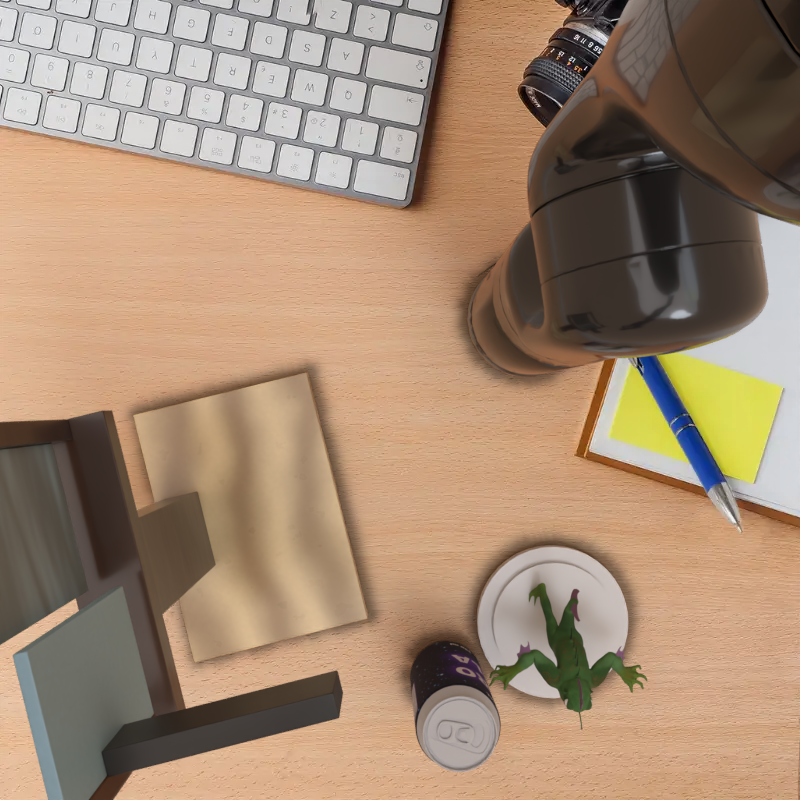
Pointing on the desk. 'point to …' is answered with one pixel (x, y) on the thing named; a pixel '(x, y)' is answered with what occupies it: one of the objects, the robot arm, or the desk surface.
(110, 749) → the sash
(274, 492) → the light brown wooden board
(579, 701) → the monster figurine
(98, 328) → the desk surface
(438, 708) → the beverage can
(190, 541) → the window frame
